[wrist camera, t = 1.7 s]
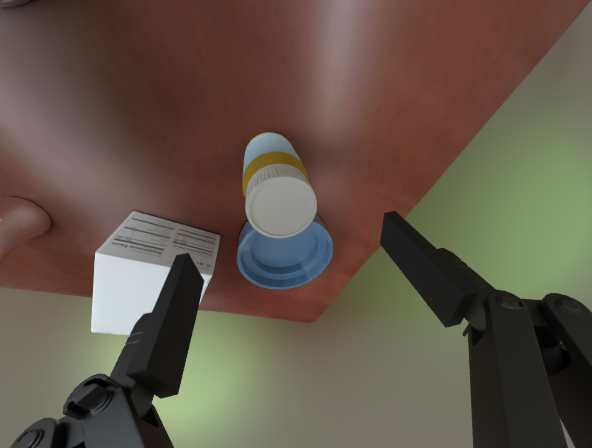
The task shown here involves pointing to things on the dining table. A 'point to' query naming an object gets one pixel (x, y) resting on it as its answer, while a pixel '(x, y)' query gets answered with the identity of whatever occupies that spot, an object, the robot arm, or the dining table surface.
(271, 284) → the bowl
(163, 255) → the supplement box
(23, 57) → the dining table surface
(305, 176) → the bottle
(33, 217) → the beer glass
